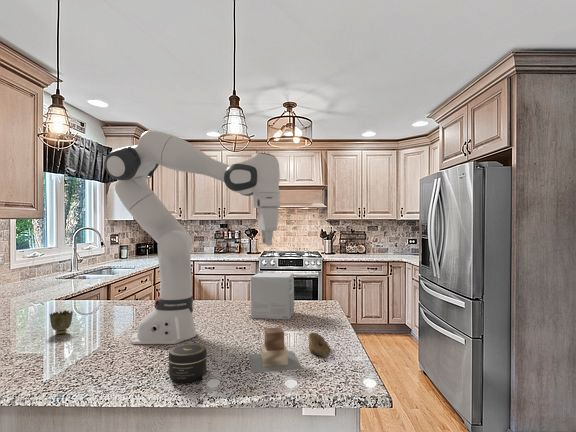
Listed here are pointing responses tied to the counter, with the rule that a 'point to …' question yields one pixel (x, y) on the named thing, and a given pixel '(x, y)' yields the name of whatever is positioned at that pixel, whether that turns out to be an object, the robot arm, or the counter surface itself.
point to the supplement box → (272, 295)
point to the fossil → (318, 345)
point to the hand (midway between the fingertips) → (267, 244)
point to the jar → (187, 363)
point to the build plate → (258, 366)
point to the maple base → (274, 356)
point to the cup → (61, 321)
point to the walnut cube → (274, 338)
